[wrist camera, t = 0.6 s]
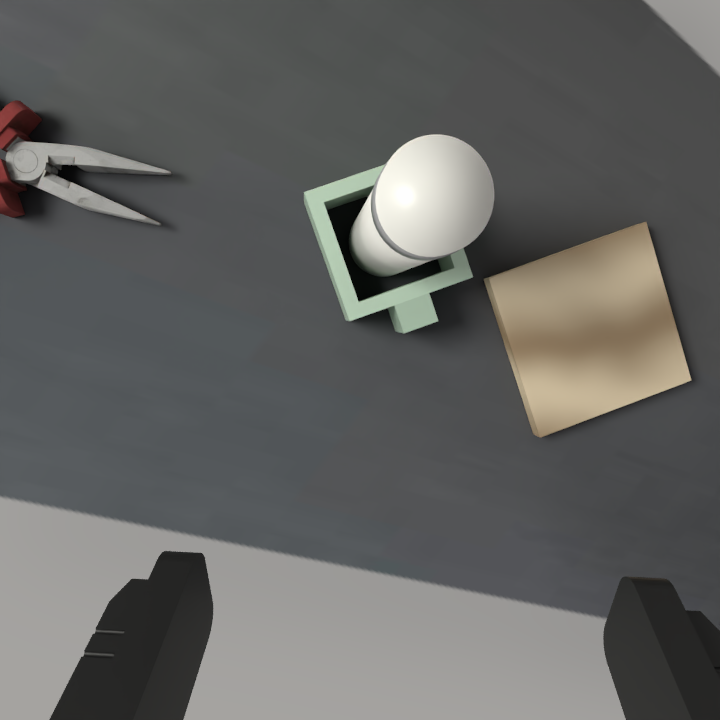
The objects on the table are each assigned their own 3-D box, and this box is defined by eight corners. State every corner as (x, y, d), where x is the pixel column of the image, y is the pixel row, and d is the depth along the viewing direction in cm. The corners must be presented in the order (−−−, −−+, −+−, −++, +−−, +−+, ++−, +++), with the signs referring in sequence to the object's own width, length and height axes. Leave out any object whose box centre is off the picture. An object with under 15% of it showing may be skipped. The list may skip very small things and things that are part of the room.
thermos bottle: (337, 219, 33) (360, 155, 19) (404, 196, 33) (474, 117, 19) (361, 287, 34) (400, 272, 20) (426, 264, 34) (510, 233, 20)
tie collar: (304, 202, 33) (303, 192, 30) (420, 163, 33) (431, 148, 30) (354, 345, 34) (359, 349, 31) (466, 305, 34) (482, 305, 31)
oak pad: (483, 279, 34) (488, 278, 33) (636, 224, 35) (646, 221, 34) (533, 434, 35) (540, 437, 34) (680, 378, 36) (691, 380, 35)
